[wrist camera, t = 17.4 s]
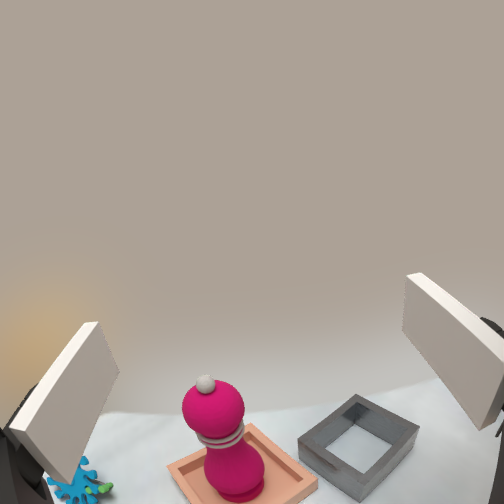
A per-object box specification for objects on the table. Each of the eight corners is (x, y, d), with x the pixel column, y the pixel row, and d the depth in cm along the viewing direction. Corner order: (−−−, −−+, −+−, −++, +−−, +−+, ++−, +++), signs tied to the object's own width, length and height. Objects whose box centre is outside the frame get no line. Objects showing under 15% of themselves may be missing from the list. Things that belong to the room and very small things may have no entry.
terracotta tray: (253, 434, 42) (250, 422, 41) (317, 488, 30) (317, 478, 30) (172, 476, 34) (166, 466, 34) (225, 547, 23) (219, 540, 22)
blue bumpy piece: (41, 493, 26) (42, 437, 31) (63, 488, 32) (65, 436, 36) (102, 523, 25) (103, 463, 29) (121, 513, 30) (123, 458, 35)
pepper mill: (202, 491, 31) (148, 386, 25) (233, 457, 37) (199, 346, 31) (248, 514, 27) (209, 416, 21) (278, 475, 33) (259, 364, 27)
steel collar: (353, 415, 42) (355, 393, 40) (412, 447, 33) (419, 426, 31) (299, 458, 36) (297, 438, 34) (359, 502, 27) (364, 486, 25)
